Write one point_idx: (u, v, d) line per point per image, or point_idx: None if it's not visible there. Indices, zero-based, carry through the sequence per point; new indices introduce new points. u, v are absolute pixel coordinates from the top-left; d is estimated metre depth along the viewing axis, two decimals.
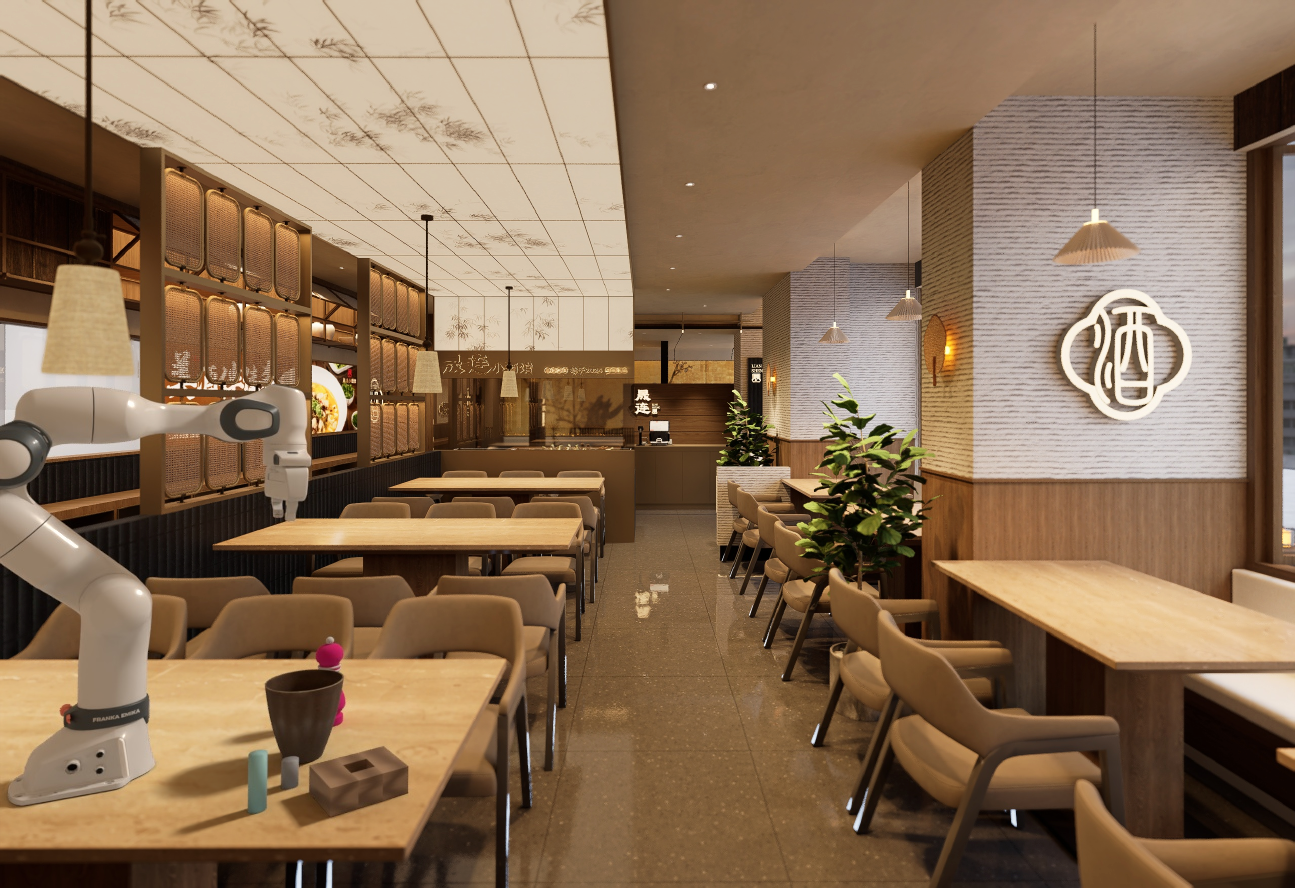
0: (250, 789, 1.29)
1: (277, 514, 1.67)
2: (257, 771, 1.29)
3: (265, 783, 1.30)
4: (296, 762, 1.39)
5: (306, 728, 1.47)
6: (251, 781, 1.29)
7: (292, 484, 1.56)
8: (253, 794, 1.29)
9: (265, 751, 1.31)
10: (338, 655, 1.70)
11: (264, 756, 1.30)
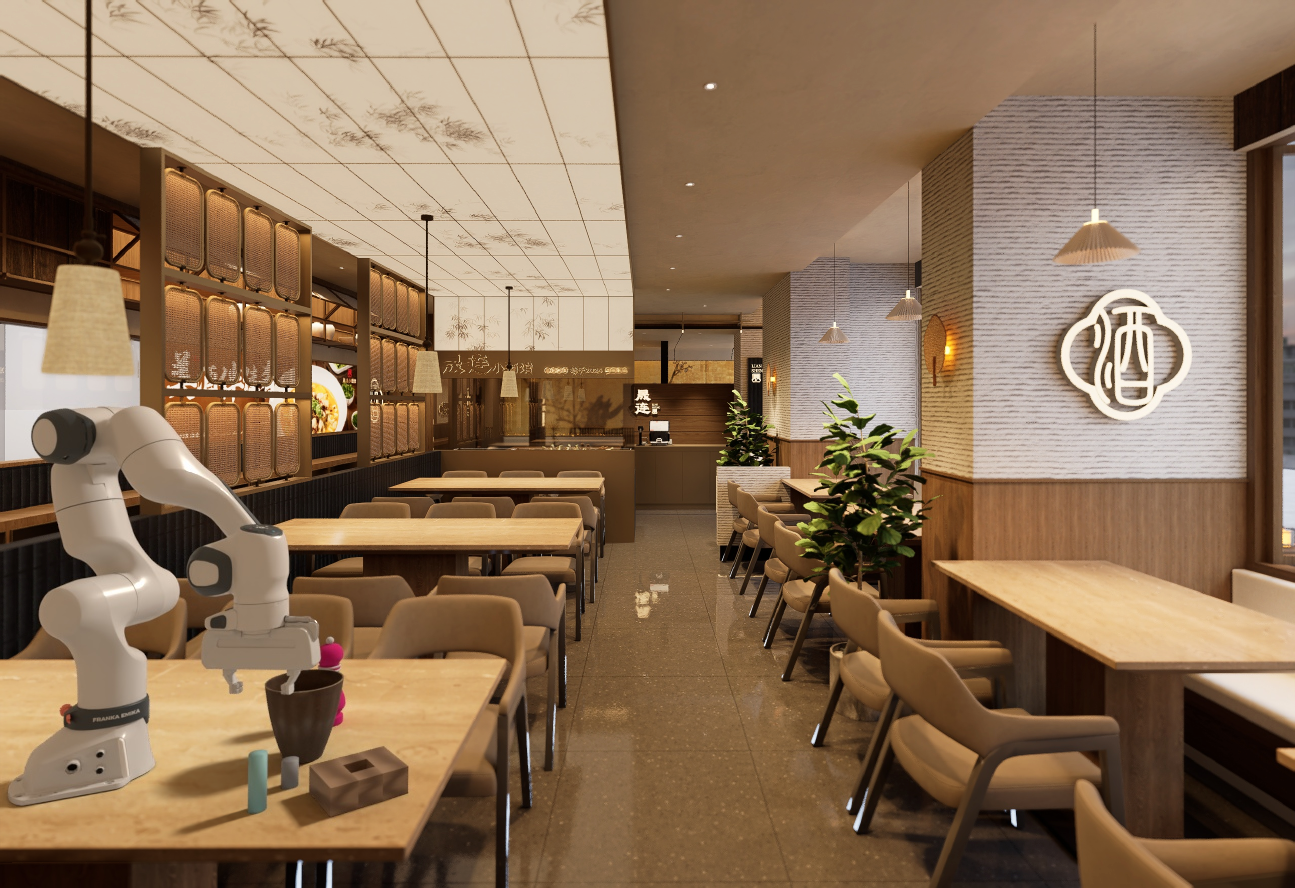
0: (250, 789, 1.29)
1: None
2: (257, 771, 1.29)
3: (265, 783, 1.30)
4: (296, 762, 1.39)
5: (306, 728, 1.47)
6: (251, 781, 1.29)
7: None
8: (253, 794, 1.29)
9: (265, 751, 1.31)
10: (338, 655, 1.70)
11: (264, 756, 1.30)
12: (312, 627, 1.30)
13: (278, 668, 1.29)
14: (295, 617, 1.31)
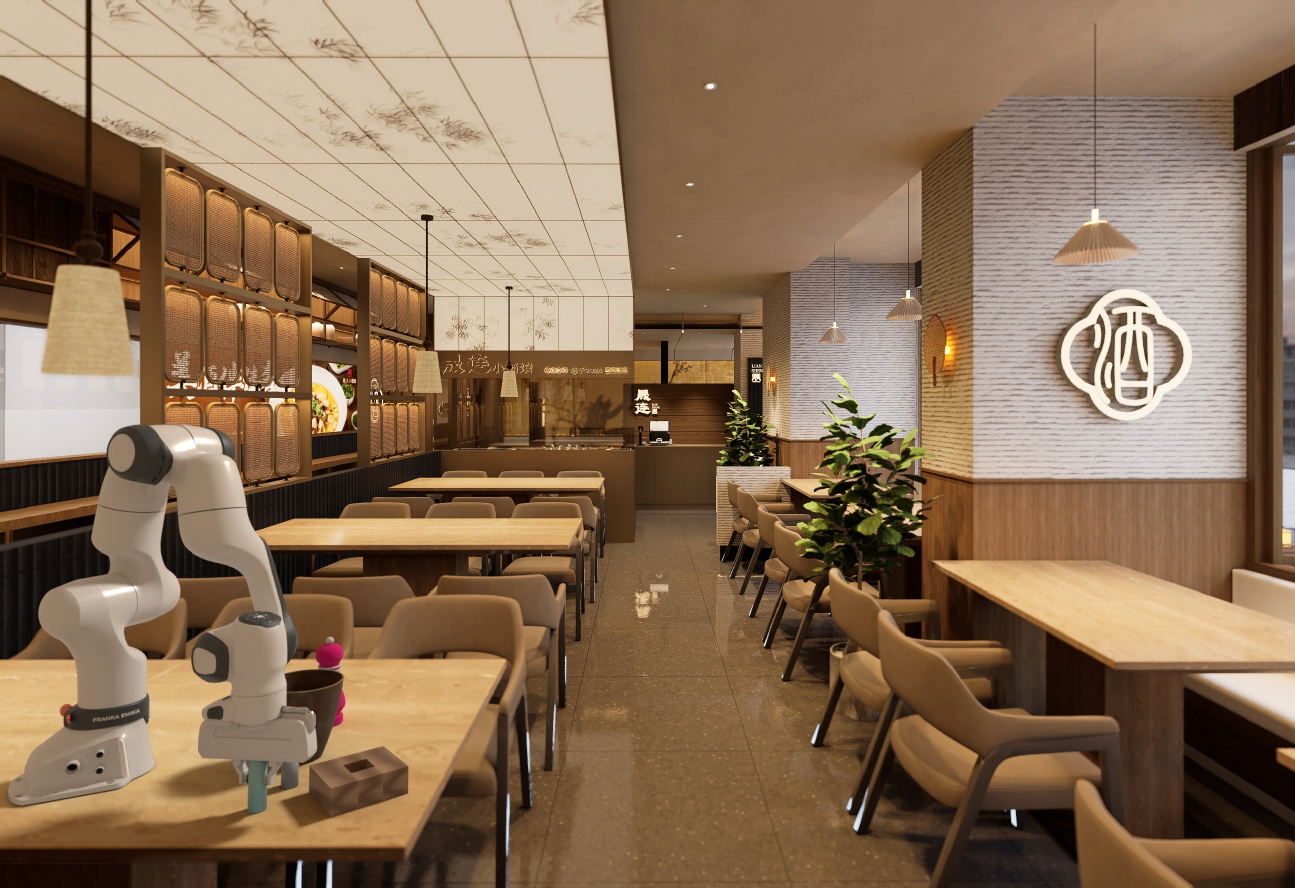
0: (250, 789, 1.29)
1: None
2: (257, 771, 1.29)
3: None
4: (296, 762, 1.39)
5: None
6: (251, 781, 1.29)
7: None
8: (253, 794, 1.29)
9: None
10: (338, 655, 1.70)
11: None
12: (309, 719, 1.29)
13: (274, 760, 1.28)
14: (292, 708, 1.30)
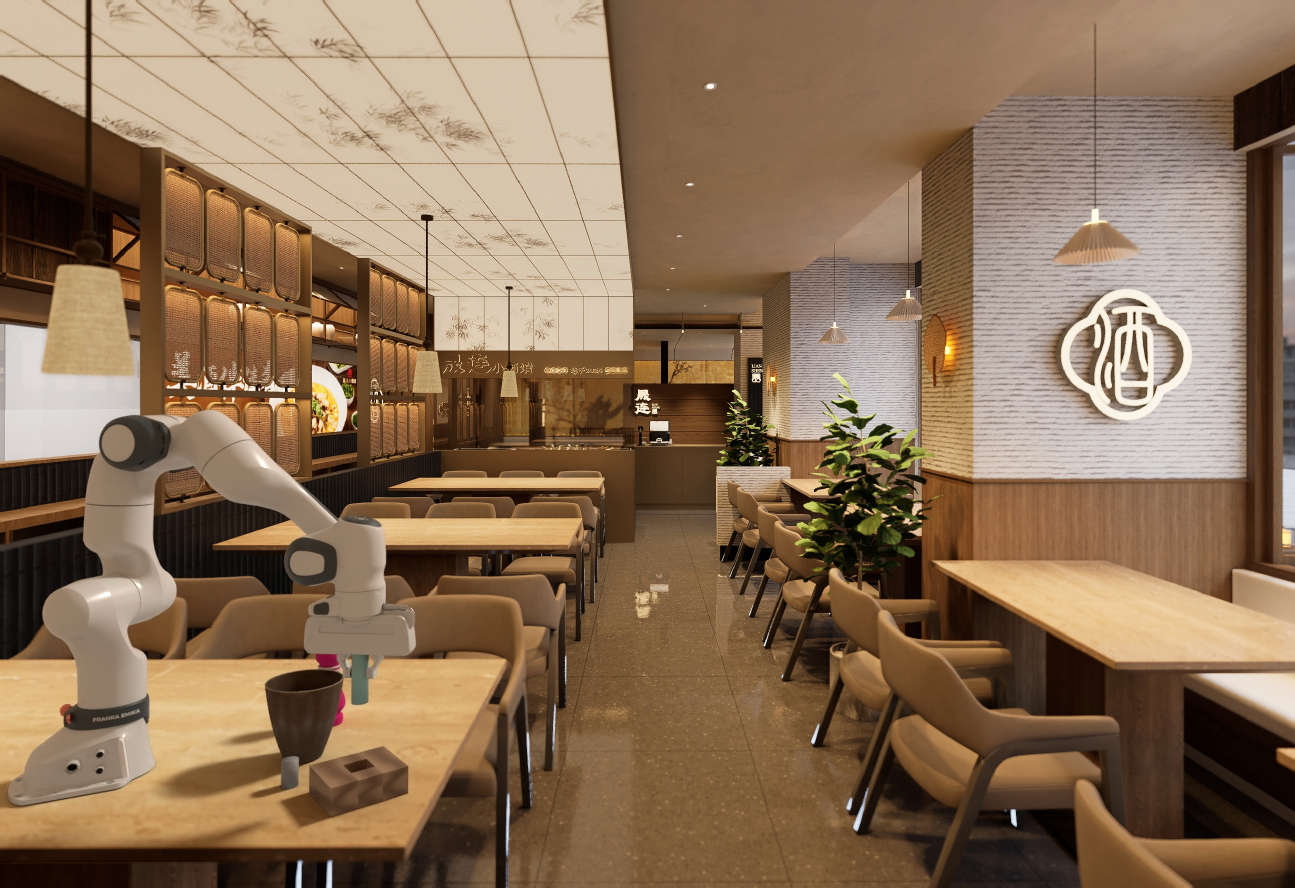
0: (354, 682, 1.36)
1: None
2: (361, 665, 1.36)
3: None
4: (296, 762, 1.39)
5: (306, 728, 1.47)
6: (355, 674, 1.35)
7: None
8: (357, 686, 1.35)
9: None
10: None
11: None
12: (409, 615, 1.36)
13: (377, 653, 1.35)
14: (393, 605, 1.36)
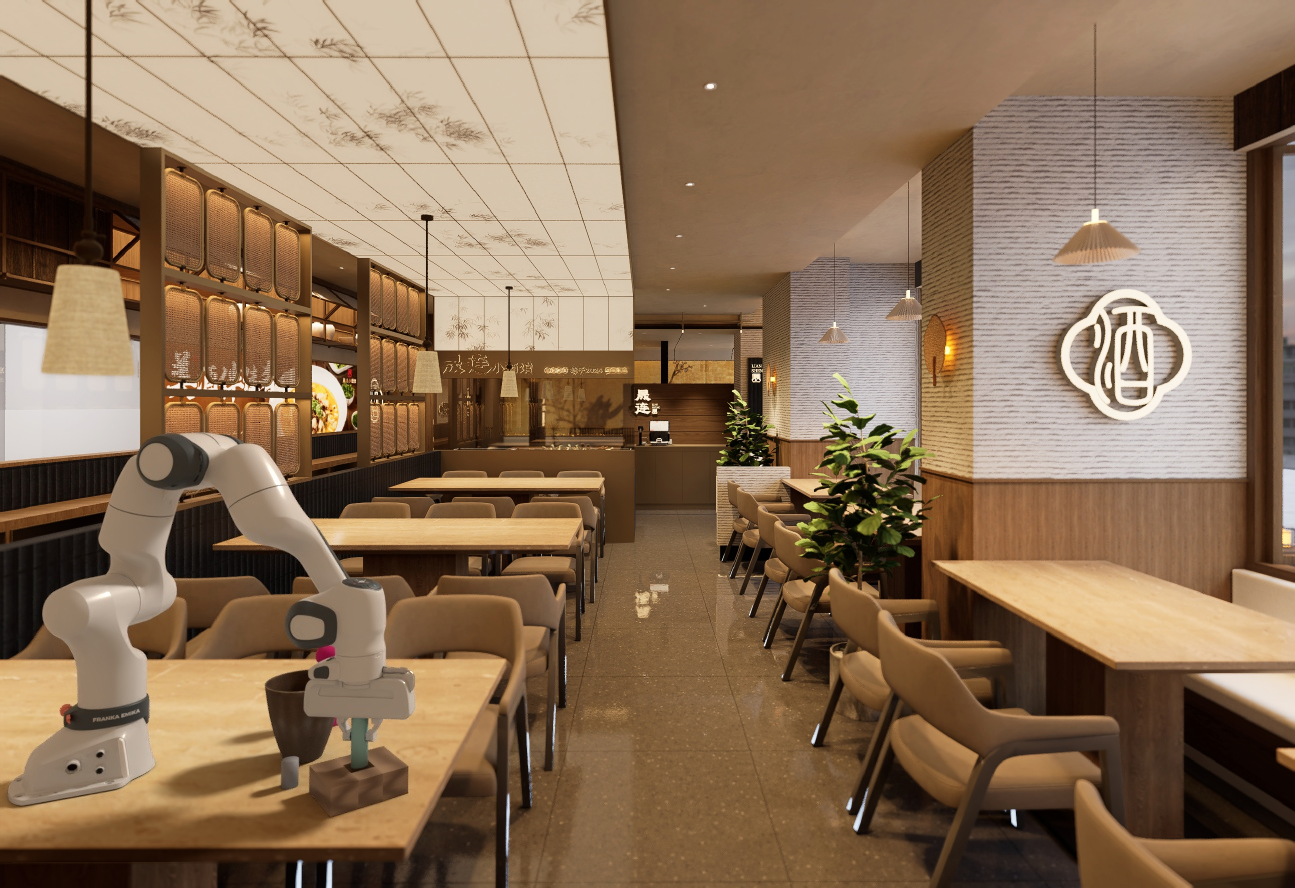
0: (353, 745, 1.36)
1: None
2: (360, 728, 1.36)
3: None
4: (296, 762, 1.39)
5: (306, 728, 1.47)
6: (355, 737, 1.36)
7: None
8: (357, 750, 1.35)
9: None
10: None
11: None
12: (409, 678, 1.36)
13: (377, 717, 1.35)
14: (393, 668, 1.36)
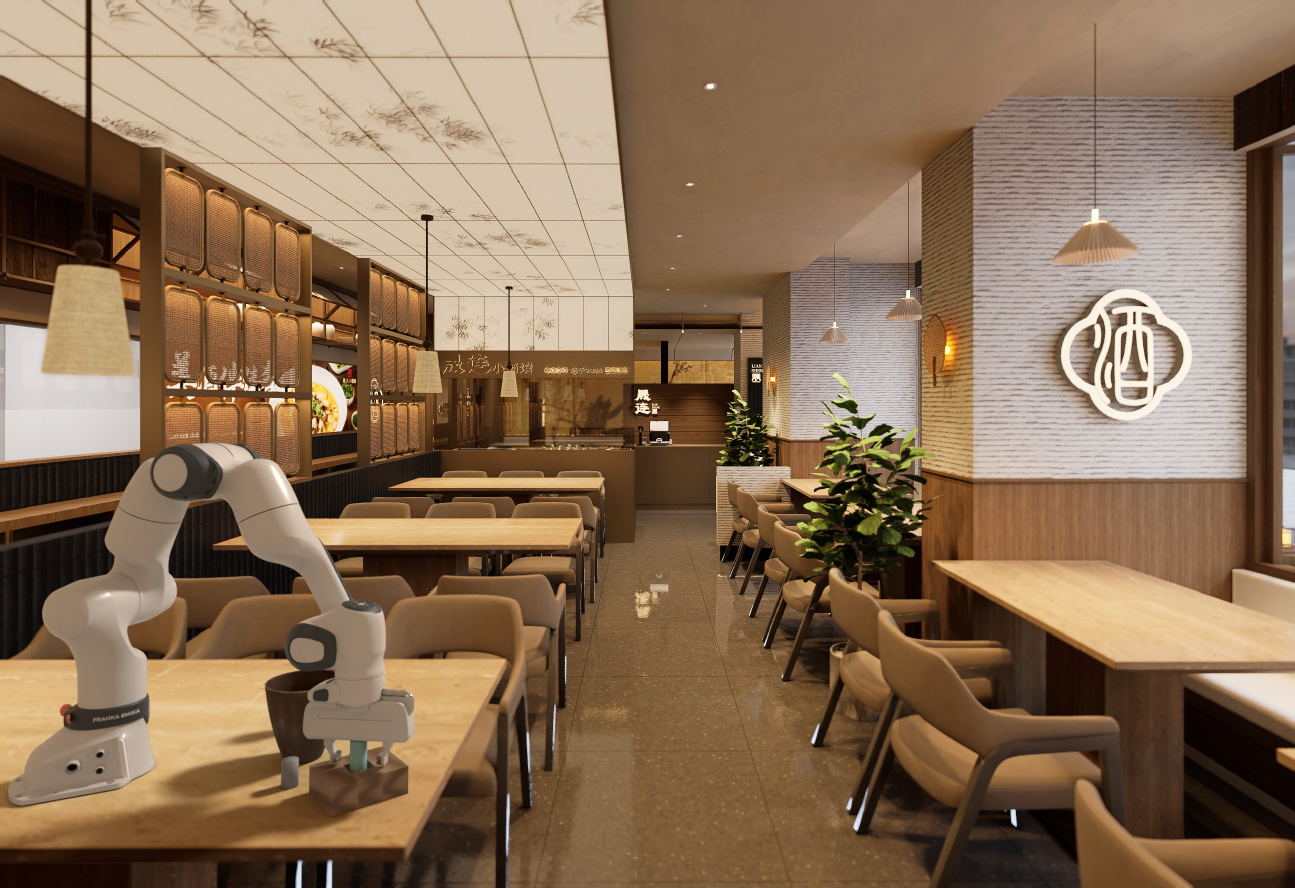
0: None
1: None
2: (359, 757, 1.36)
3: (365, 768, 1.37)
4: (296, 762, 1.39)
5: None
6: (353, 765, 1.36)
7: None
8: None
9: None
10: None
11: (365, 742, 1.36)
12: (408, 701, 1.36)
13: (376, 740, 1.35)
14: (392, 691, 1.36)
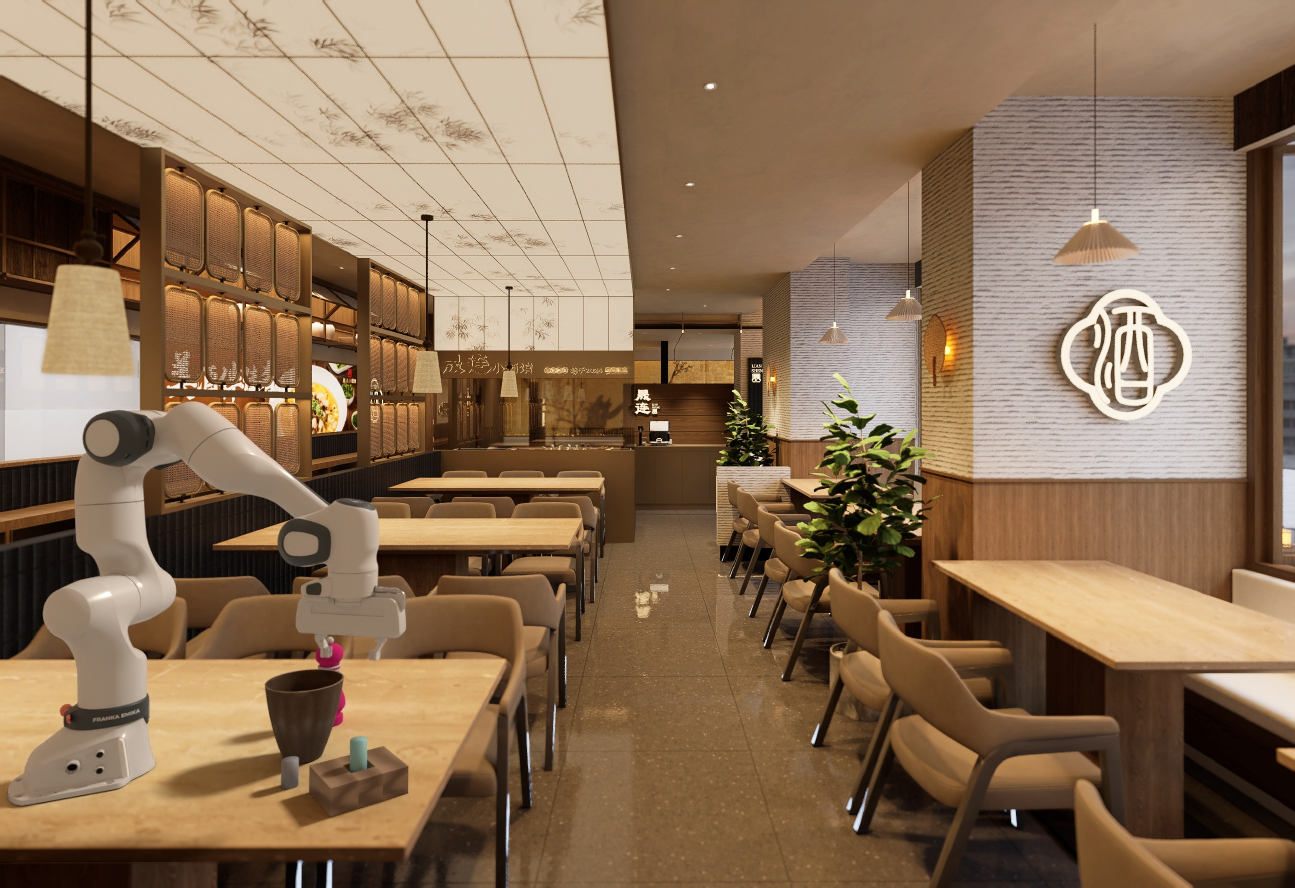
0: None
1: None
2: (359, 757, 1.36)
3: (365, 768, 1.37)
4: (296, 762, 1.39)
5: (306, 728, 1.47)
6: (353, 765, 1.36)
7: None
8: None
9: (365, 737, 1.38)
10: (338, 655, 1.70)
11: (365, 742, 1.36)
12: (400, 598, 1.38)
13: (367, 635, 1.37)
14: (384, 588, 1.38)
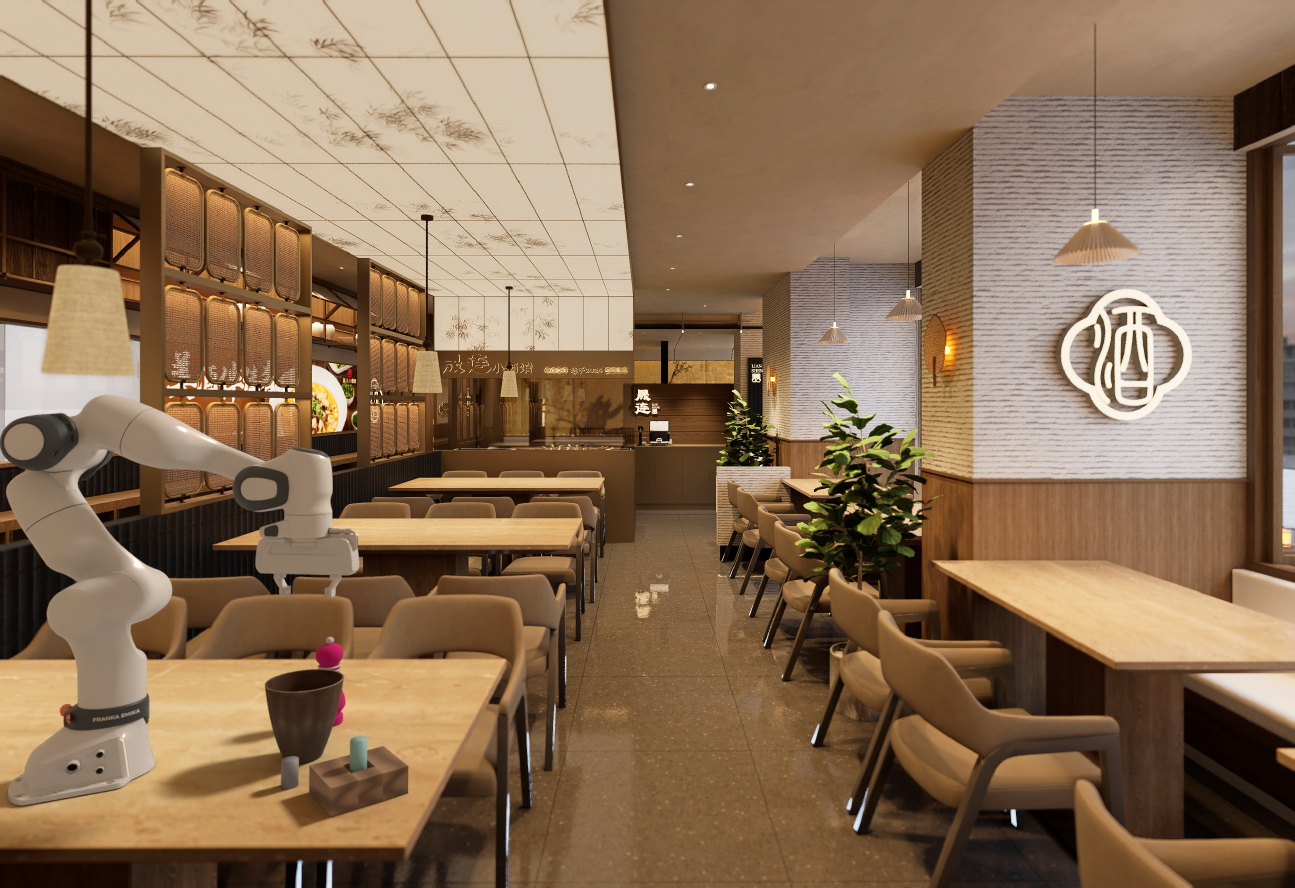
0: None
1: None
2: (359, 757, 1.36)
3: (365, 768, 1.37)
4: (296, 762, 1.39)
5: (306, 728, 1.47)
6: (353, 765, 1.36)
7: None
8: None
9: (365, 737, 1.38)
10: (338, 655, 1.70)
11: (365, 742, 1.37)
12: (352, 538, 1.48)
13: (322, 573, 1.47)
14: (338, 529, 1.48)
